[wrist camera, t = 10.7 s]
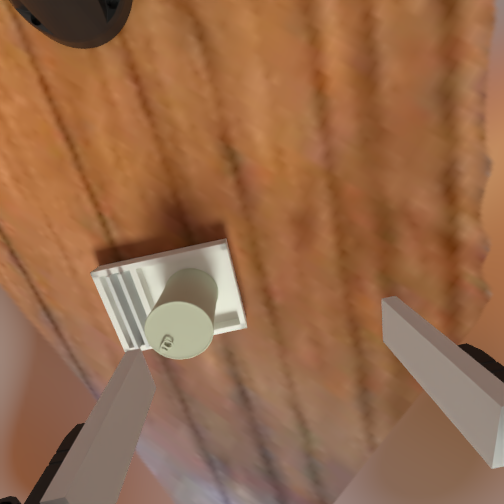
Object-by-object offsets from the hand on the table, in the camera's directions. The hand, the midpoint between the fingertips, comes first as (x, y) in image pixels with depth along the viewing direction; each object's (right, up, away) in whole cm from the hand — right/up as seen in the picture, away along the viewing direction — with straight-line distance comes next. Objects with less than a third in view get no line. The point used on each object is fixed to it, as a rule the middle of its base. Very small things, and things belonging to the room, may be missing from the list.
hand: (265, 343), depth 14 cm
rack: (-14, -2, +33) cm, 36 cm away
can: (-11, -2, +32) cm, 34 cm away
